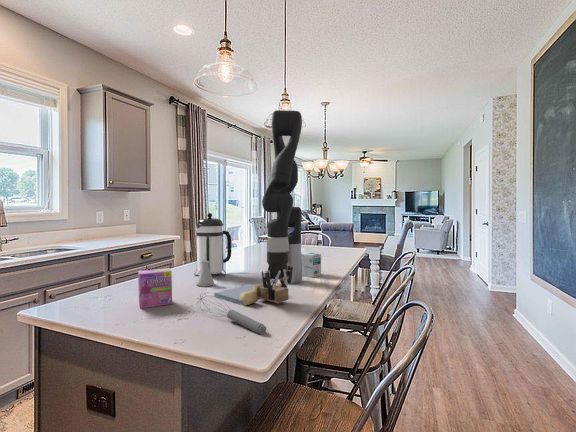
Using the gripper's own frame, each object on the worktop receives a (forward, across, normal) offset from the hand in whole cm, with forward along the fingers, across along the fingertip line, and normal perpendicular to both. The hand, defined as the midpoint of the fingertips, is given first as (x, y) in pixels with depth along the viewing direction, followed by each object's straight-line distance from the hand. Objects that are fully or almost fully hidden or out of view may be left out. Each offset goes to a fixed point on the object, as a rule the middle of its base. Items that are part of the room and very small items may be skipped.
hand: (277, 297), depth 119 cm
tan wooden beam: (+1, 0, +4) cm, 4 cm away
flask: (+2, 0, +42) cm, 42 cm away
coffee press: (+2, +14, +56) cm, 57 cm away
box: (+2, -28, +32) cm, 42 cm away
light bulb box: (+2, +44, +20) cm, 48 cm away
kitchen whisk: (+3, -21, 0) cm, 21 cm away
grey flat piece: (+2, 0, +14) cm, 15 cm away
